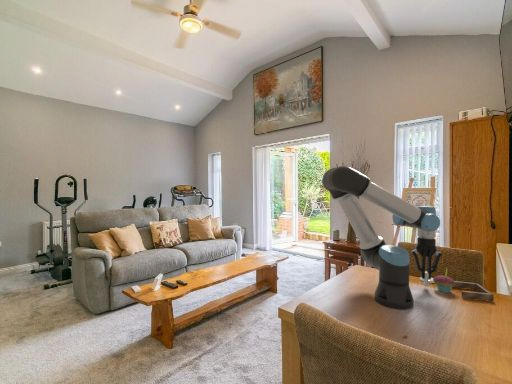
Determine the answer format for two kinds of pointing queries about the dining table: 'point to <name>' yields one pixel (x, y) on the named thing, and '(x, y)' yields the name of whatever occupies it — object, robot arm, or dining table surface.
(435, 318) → the dining table surface
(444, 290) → the cupcake
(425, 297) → the dining table surface
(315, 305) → the dining table surface
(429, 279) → the white round domed disc
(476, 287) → the bay
